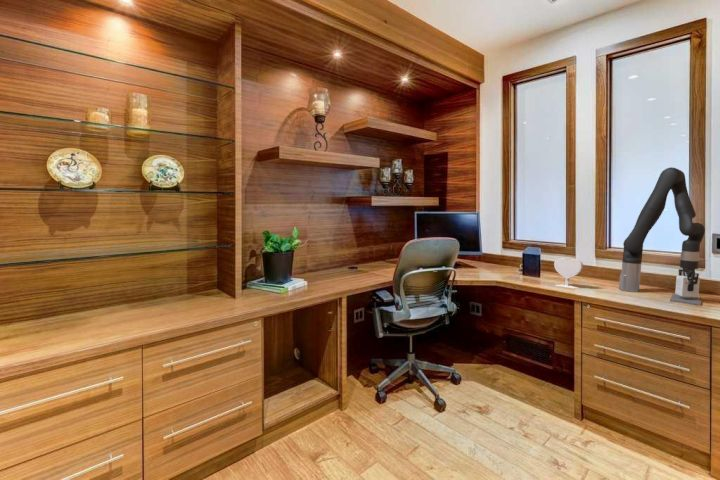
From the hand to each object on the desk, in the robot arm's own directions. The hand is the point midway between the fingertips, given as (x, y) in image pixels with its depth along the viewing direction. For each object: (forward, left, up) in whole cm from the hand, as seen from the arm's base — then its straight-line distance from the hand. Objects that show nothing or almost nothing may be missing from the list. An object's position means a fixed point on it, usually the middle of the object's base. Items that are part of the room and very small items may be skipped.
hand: (686, 289), depth 194 cm
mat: (0, 0, -6) cm, 6 cm away
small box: (0, 0, -3) cm, 3 cm away
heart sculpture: (-54, +17, -6) cm, 57 cm away
